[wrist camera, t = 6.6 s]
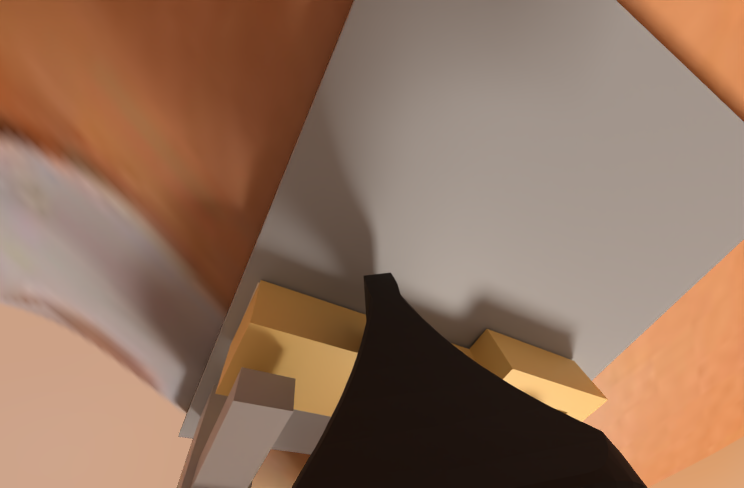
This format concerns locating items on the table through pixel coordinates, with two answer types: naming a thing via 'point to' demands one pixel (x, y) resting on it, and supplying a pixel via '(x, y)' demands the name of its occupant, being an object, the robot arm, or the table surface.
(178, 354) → the table surface
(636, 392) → the table surface
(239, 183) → the table surface
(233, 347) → the link
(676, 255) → the pintle board
